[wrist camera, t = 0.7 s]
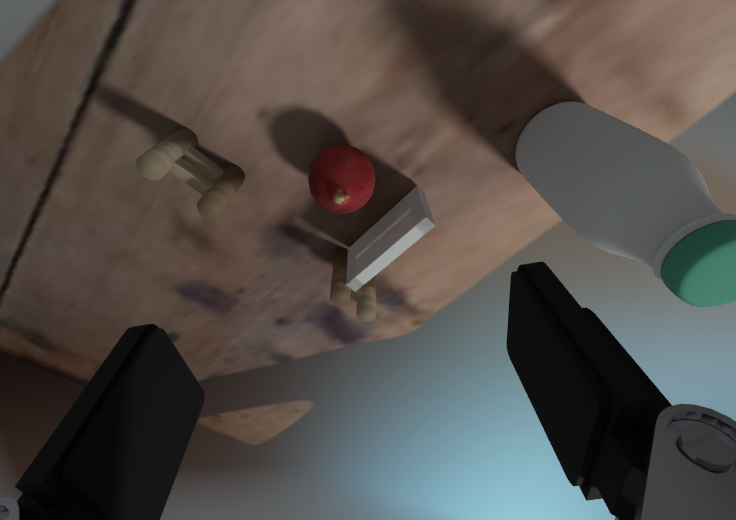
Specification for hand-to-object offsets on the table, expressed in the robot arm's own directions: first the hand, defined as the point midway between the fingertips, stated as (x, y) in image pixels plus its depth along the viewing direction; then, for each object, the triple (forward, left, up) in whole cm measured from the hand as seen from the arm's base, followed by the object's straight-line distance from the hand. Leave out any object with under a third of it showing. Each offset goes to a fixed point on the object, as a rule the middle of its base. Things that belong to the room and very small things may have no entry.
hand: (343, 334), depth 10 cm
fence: (+13, +2, -27) cm, 30 cm away
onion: (+5, +3, -27) cm, 28 cm away
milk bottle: (-10, +16, -27) cm, 33 cm away
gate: (+6, +10, -26) cm, 29 cm away
